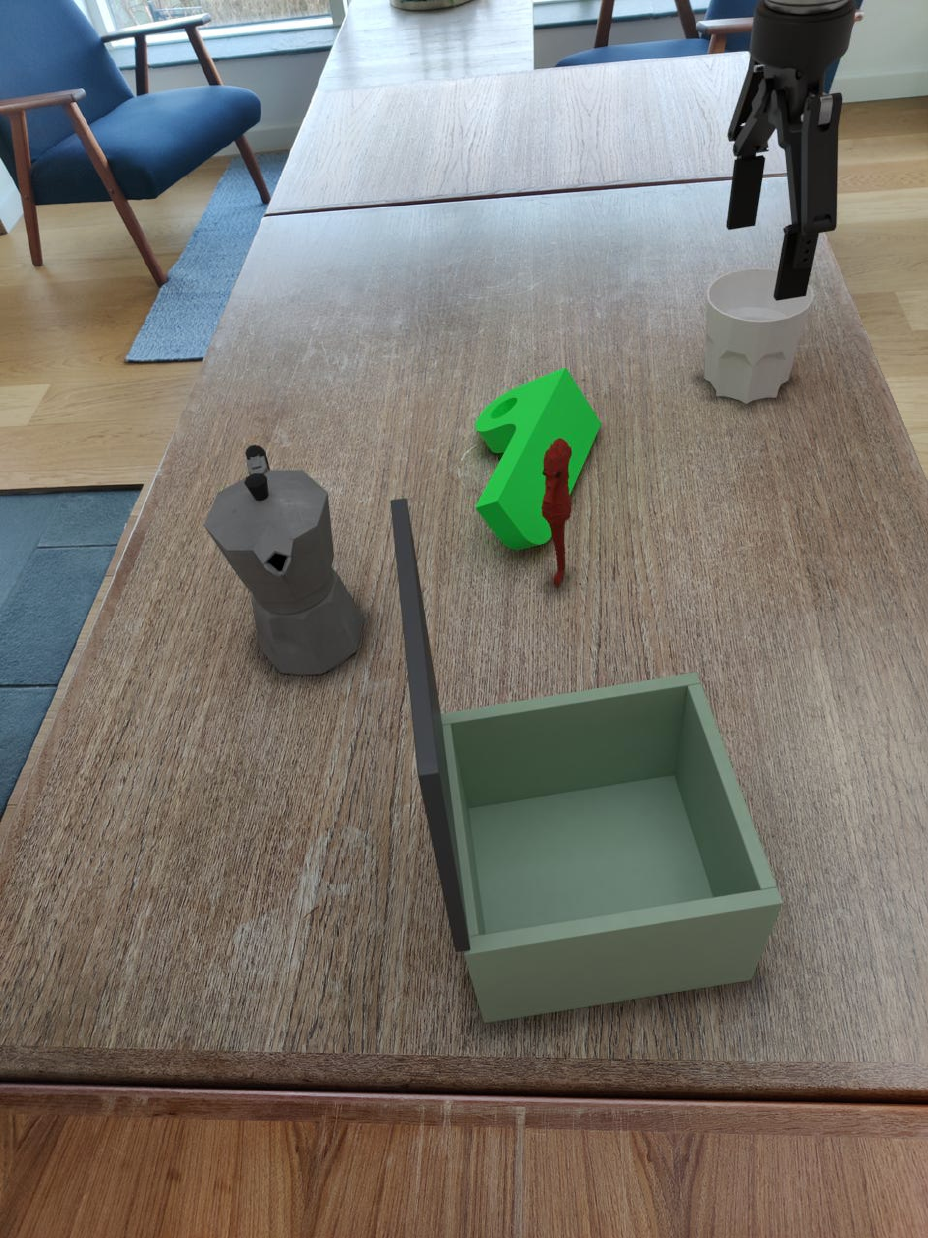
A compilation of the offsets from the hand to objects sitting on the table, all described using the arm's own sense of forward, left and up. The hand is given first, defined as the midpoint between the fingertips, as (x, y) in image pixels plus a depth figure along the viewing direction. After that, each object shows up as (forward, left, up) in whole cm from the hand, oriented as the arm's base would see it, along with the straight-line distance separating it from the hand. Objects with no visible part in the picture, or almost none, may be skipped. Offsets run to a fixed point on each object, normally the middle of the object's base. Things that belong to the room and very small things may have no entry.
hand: (763, 259), depth 84 cm
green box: (-6, +59, -13) cm, 61 cm away
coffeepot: (+25, +47, -14) cm, 55 cm away
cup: (0, 0, -14) cm, 14 cm away
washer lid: (0, +63, +8) cm, 64 cm away
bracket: (+16, +24, -14) cm, 32 cm away
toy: (+7, +34, -14) cm, 37 cm away
